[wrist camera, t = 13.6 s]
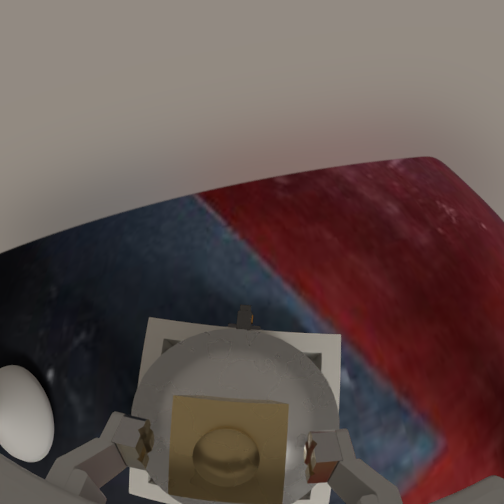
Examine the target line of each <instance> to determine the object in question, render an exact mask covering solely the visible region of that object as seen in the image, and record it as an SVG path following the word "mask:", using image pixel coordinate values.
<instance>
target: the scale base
mask: <svg viewBox="0 0 504 504" xmlns="http://www.w3.org/2000/svg"><path fill="white" fill-rule="evenodd" d="M236 326H237V324H229V323H228V327H221V326H212V325H203V324H195V323H187V322H180V321H172V320H165V319H159V318H152V317H149V320H148V325H147V331H146V336H145V342H144V348H143V354H142V360H141V367H140V374H139V381H138V386H139V384H140V382H141V380H142V378H143V376H144V375H145V373H146V372H147V370H148V369H149V368H150V366H151V365H152V364H153V363H154V362H155V361H156V360H157V359H158V357H160V356H161V355H162V354H163V353H164V352H166V351H167V350H168V349H169V348H171V347H173V346H174V345H176V344H177V343H179V342H181V341H183V340H185V339H187V338H189V337H192V336H195V335H198V334H201V333H204V332H209V331H214V330H221V329H236ZM251 330H252V331H258V332H261V333H265V334H269V335H271V336H274V337H276V338H279V339H281V340H283V341H285V342H287V343H289V344H291V345H292V346H294V347H295V348H297V349H298V350H300V351H301V352H302V353H304V354H305V355H306V356H307V357H308V358H309V359H310V360H311V361H312V362H314V364H315V365H316V366H317V367H318V368H319V370H320V371H321V372H322V373H323V375H324V377H325V378H326V380H327V381H328V383H329V385H330V387H331V389H332V392H333V394H334V397H335V400H336V404H337V407H338V412H339V395H340V367H341V334H314V333H295V332H279V331H265V330H260V326H251ZM327 483H328V482H326V483H317V484H316V485H315V486H314V487H313V488H312V489H311V490H310V491H309V492H308V493H307V494H305V495H304V496H303V497H302V498H300V499H299V500H297V501H296V502H294V503H293V504H329V498H330V491H331V487H330V486H329V485H328V484H327ZM129 493H130V494H134V495H137V496H140V497H144V498H148V499H151V500H155V501H159V502H164V503H168V504H182V503H180V502H178V501H176V500H175V499H173V498H172V497H171V496H169V495H168V494H167V493H166V492H164V491H163V490H162V489H161V488H160V487H159V486H158V485H157V484H156V483H155V482H154V481H153V479H152V478H151V477H150V475H149V474H148V473H147V471H146V470H141V469H136V468H132V467H130V478H129Z"/></svg>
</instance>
